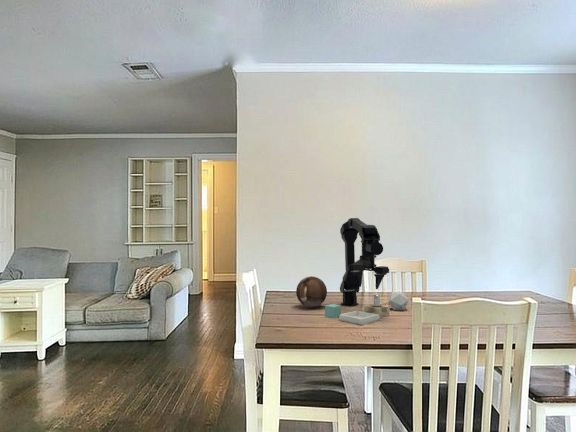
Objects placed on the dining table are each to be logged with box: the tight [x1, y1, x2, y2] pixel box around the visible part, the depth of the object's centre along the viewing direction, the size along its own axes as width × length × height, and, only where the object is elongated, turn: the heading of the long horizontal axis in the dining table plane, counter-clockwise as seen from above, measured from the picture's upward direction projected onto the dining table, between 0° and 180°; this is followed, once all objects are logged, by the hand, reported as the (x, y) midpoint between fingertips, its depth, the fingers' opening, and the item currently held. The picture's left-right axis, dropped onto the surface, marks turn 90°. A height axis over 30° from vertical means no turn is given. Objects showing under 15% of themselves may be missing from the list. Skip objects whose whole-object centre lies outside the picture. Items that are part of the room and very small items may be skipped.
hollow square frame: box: [363, 303, 390, 319], centre depth 212 cm, size 8×8×4 cm
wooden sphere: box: [295, 276, 328, 308], centre depth 230 cm, size 15×15×15 cm
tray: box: [338, 310, 380, 326], centre depth 201 cm, size 12×12×2 cm
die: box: [387, 291, 409, 311], centre depth 223 cm, size 8×9×10 cm
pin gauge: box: [373, 294, 381, 307], centre depth 212 cm, size 3×3×9 cm
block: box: [324, 303, 342, 319], centre depth 209 cm, size 5×5×5 cm
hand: (368, 287), depth 211 cm, fingers open, 9 cm apart
